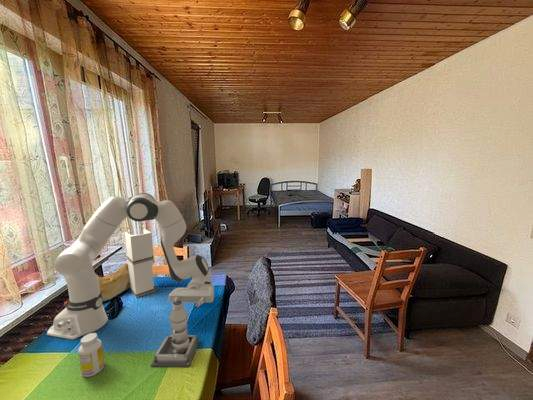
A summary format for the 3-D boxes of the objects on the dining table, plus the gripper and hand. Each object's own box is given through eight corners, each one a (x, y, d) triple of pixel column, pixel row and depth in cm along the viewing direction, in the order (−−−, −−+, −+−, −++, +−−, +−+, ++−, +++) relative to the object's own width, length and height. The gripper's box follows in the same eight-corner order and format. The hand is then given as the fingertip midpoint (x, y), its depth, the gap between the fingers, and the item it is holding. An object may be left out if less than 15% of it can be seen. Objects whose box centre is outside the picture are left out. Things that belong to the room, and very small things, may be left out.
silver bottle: (184, 358, 88) (180, 308, 86) (168, 355, 90) (164, 306, 87) (193, 346, 95) (190, 299, 92) (178, 343, 96) (175, 297, 94)
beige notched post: (156, 291, 138) (151, 232, 133) (136, 298, 131) (130, 236, 126) (149, 284, 147) (145, 228, 141) (130, 290, 139) (124, 232, 134)
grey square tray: (150, 366, 86) (150, 358, 86) (166, 340, 99) (165, 333, 99) (189, 367, 86) (188, 358, 85) (199, 340, 99) (199, 333, 98)
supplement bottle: (101, 359, 90) (97, 328, 88) (107, 368, 86) (103, 336, 84) (79, 371, 85) (74, 338, 83) (84, 381, 81) (80, 347, 79)
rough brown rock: (126, 281, 152) (122, 259, 150) (140, 286, 142) (136, 262, 141) (83, 300, 132) (78, 275, 130) (97, 307, 123) (91, 280, 121)
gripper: (174, 282, 116) (161, 298, 102) (216, 282, 116) (209, 298, 102) (175, 294, 117) (162, 312, 103) (217, 294, 116) (209, 312, 103)
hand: (186, 305), depth 103 cm, fingers open, 8 cm apart
